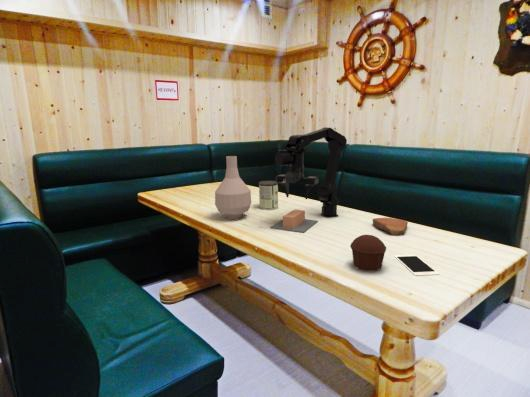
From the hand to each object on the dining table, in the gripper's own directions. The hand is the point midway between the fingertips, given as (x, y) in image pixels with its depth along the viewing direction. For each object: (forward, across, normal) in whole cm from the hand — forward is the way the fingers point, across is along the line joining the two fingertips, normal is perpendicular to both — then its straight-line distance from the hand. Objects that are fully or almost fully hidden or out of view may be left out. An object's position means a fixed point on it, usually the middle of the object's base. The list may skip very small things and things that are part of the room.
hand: (296, 198), depth 162 cm
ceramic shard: (+12, +40, +8) cm, 42 cm away
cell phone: (+13, +54, -26) cm, 61 cm away
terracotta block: (+9, 0, +4) cm, 10 cm away
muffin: (+12, +40, -34) cm, 53 cm away
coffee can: (+12, -25, +20) cm, 34 cm away
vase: (+12, -32, -3) cm, 35 cm away
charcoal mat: (+12, 0, -3) cm, 12 cm away
